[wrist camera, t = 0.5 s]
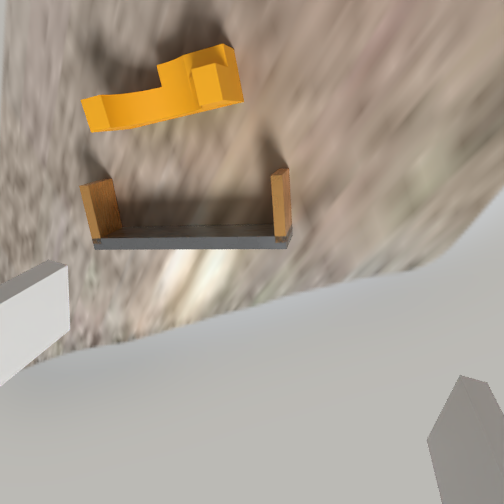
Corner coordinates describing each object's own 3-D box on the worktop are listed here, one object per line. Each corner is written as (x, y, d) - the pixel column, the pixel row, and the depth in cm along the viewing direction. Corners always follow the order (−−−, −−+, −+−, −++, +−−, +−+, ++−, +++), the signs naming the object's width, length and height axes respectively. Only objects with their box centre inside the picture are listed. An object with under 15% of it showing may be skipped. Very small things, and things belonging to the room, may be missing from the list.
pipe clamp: (234, 49, 32) (209, 36, 26) (244, 101, 34) (223, 100, 28) (118, 82, 36) (73, 77, 30) (131, 128, 37) (91, 132, 31)
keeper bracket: (103, 179, 39) (79, 185, 36) (288, 168, 35) (282, 175, 31) (116, 237, 42) (94, 249, 38) (292, 235, 37) (286, 248, 33)
